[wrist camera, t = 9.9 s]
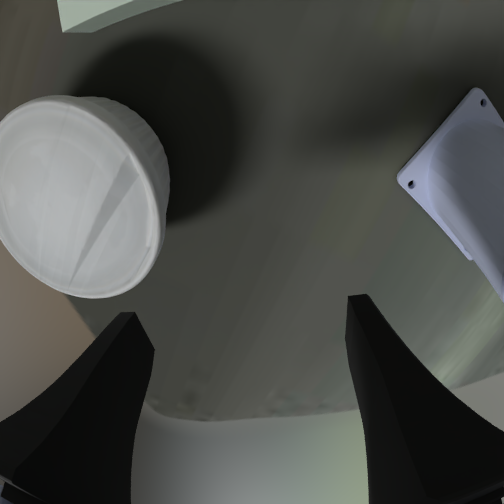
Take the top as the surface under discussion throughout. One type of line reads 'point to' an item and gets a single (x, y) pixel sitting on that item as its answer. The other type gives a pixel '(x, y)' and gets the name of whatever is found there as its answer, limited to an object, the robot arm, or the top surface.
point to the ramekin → (82, 193)
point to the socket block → (101, 12)
